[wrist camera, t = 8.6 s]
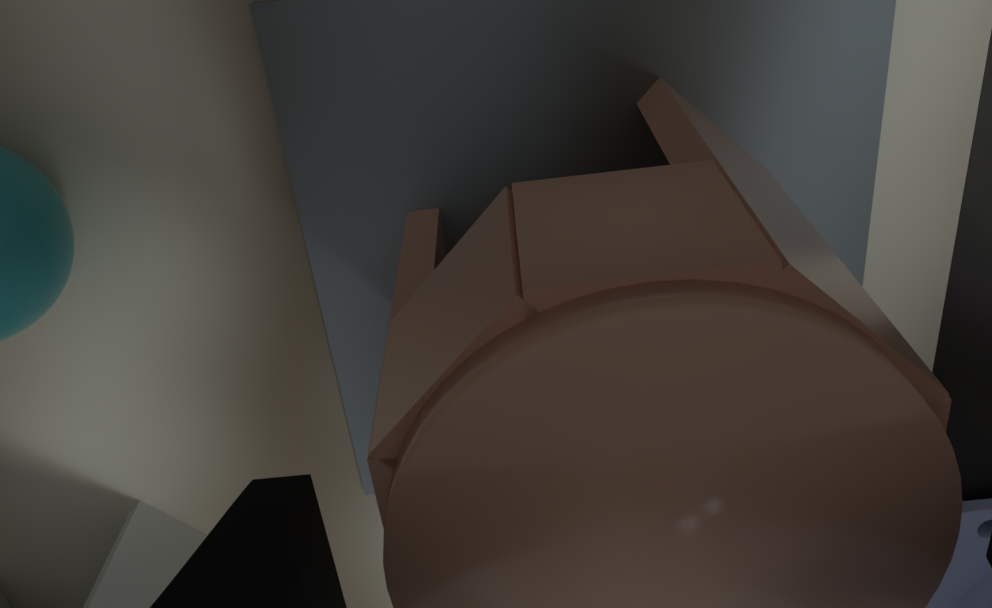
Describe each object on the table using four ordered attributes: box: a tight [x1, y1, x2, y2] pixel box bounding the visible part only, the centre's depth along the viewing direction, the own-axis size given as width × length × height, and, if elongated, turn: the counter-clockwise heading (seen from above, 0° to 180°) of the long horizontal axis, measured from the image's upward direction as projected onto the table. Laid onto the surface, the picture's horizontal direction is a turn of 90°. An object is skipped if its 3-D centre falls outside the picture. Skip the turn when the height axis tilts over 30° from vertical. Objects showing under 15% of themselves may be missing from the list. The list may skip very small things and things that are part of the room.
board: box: [0, 0, 992, 608], centre depth 17 cm, size 22×19×1 cm
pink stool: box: [367, 78, 963, 608], centre depth 11 cm, size 6×6×7 cm
